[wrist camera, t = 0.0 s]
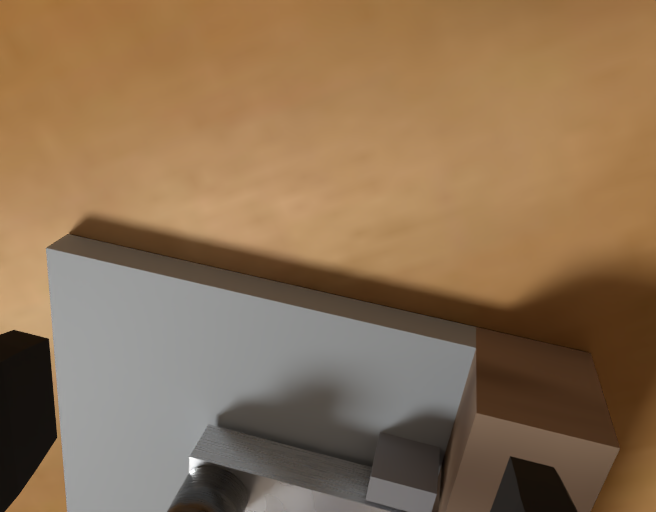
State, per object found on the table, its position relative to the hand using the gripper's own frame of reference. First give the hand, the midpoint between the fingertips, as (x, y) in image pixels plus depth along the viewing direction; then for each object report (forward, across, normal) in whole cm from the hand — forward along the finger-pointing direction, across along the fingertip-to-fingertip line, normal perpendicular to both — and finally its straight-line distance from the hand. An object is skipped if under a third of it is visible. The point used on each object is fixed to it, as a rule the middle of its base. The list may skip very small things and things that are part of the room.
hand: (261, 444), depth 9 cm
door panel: (+10, +3, +10) cm, 14 cm away
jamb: (+10, -6, +10) cm, 15 cm away
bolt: (+9, +1, +10) cm, 13 cm away
